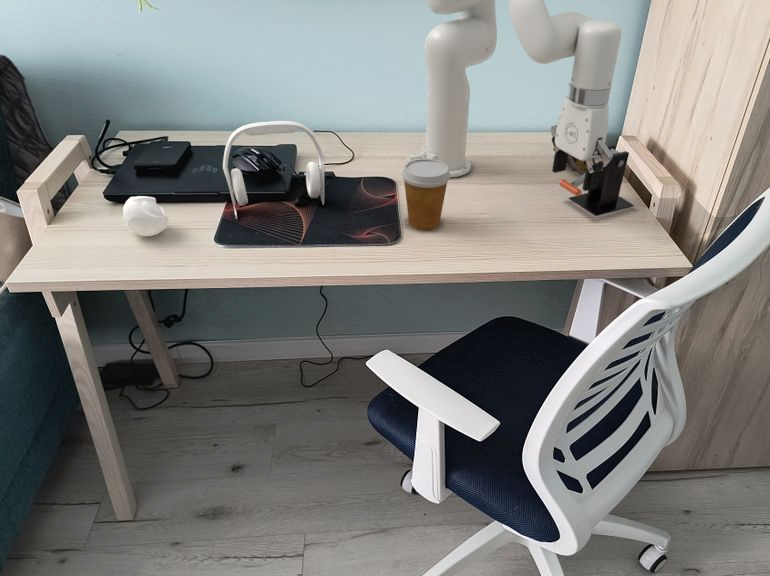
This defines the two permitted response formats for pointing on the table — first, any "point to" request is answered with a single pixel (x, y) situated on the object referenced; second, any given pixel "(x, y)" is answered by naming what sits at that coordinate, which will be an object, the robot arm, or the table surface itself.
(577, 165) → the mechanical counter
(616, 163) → the stand
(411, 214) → the disposable coffee cup
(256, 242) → the table surface
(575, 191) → the lever
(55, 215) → the table surface
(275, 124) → the headset
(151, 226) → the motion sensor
